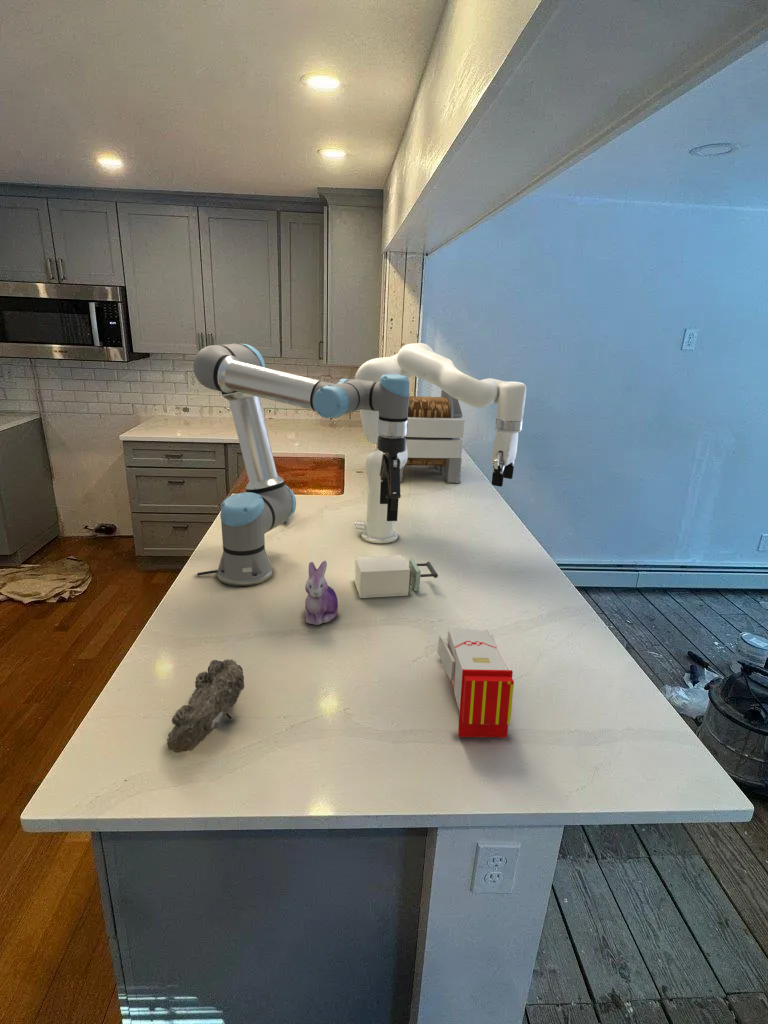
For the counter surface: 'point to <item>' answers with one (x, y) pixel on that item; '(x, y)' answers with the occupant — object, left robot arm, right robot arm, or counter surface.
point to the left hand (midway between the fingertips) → (388, 511)
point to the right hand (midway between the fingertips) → (502, 481)
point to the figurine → (319, 597)
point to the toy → (478, 682)
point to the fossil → (206, 705)
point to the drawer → (419, 573)
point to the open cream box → (382, 576)
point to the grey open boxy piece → (435, 435)
